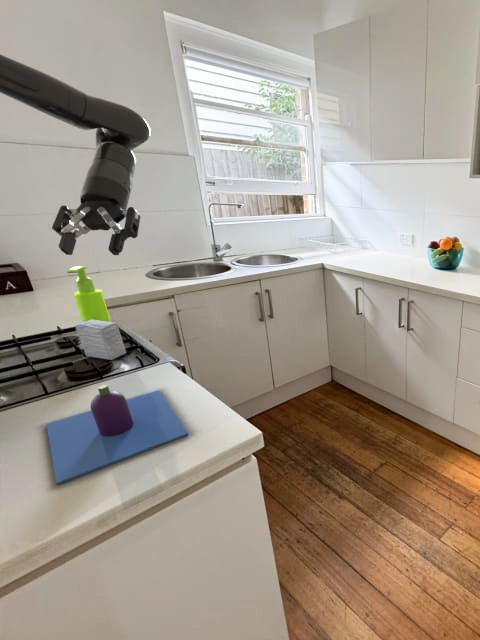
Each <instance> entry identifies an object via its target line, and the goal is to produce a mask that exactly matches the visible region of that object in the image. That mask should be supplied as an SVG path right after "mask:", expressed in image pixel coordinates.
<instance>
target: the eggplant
mask: <svg viewBox="0 0 480 640" xmlns="http://www.w3.org/2000/svg"><path fill="white" fill-rule="evenodd" d="M97 390H98V394H96V395H95V396H93V398H92V399H91V402H90V411H92V414H93V416H94V419H95V422H96V424H97V427H98V430H99V432H100V434H101V435H102V436H115V435H119V434H122V433H124V432H126V431H128V430H129V429H130V428H131V427H132V426H133V424H134V423H133V420H132V417H131V414H130V410H129V407H128V404H127V401H126V400H127V398H126V397H125V395H124V394H122V393H121V392H119V391H116V390H110V387H109V385H108V384H103V385H99V386H98V387H97Z"/></svg>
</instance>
